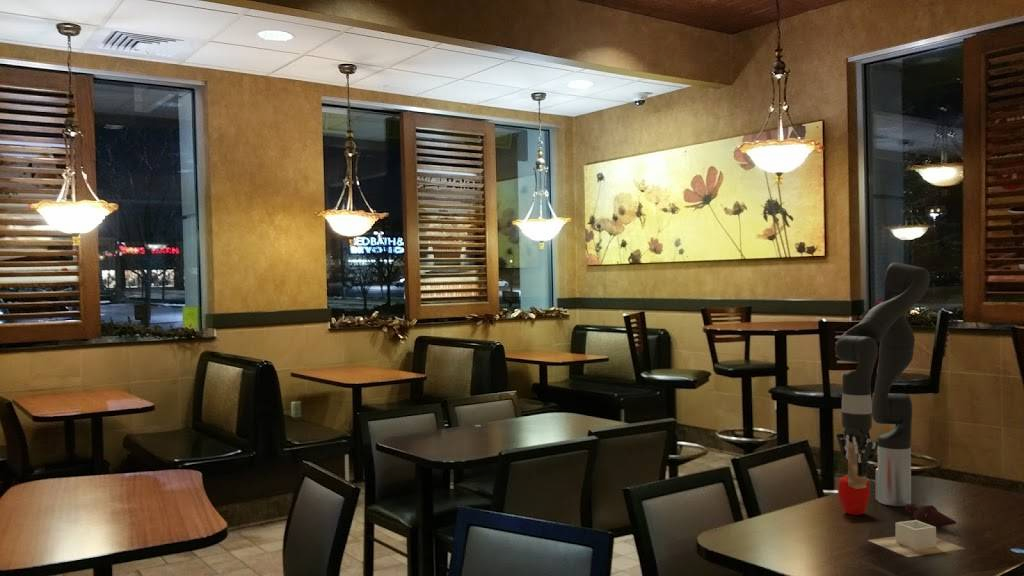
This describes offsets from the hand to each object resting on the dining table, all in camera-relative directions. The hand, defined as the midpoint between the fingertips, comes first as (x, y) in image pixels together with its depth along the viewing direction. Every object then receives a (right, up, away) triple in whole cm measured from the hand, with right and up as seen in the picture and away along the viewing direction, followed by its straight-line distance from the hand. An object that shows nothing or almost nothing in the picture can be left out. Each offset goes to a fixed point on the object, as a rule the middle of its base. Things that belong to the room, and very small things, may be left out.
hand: (857, 474), depth 226 cm
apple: (+7, -16, +20) cm, 27 cm away
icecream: (+21, -16, +4) cm, 27 cm away
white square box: (+10, -15, -11) cm, 22 cm away
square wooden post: (0, -3, 0) cm, 3 cm away
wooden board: (+10, -16, -11) cm, 22 cm away
